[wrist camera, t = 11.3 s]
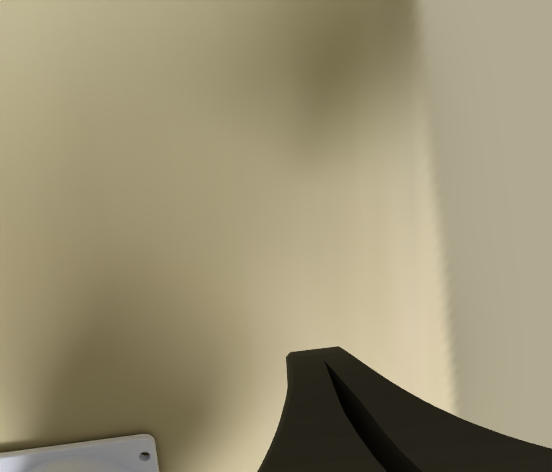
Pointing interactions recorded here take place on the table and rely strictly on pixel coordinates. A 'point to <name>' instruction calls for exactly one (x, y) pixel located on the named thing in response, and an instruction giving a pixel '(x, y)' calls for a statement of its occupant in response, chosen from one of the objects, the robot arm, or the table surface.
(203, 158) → the table surface
